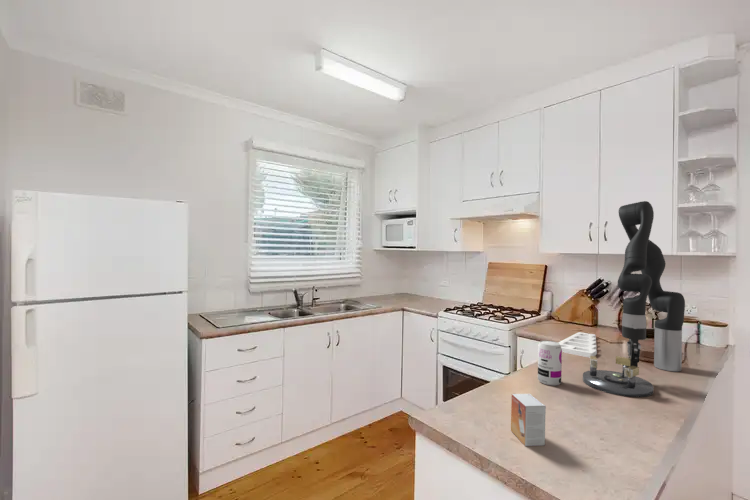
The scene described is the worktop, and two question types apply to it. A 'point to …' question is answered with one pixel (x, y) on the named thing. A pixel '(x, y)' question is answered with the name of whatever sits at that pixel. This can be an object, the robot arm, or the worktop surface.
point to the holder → (580, 344)
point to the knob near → (623, 362)
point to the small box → (528, 419)
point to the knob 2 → (631, 375)
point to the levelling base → (617, 384)
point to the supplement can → (549, 362)
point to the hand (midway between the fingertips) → (633, 370)
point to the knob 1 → (593, 366)
